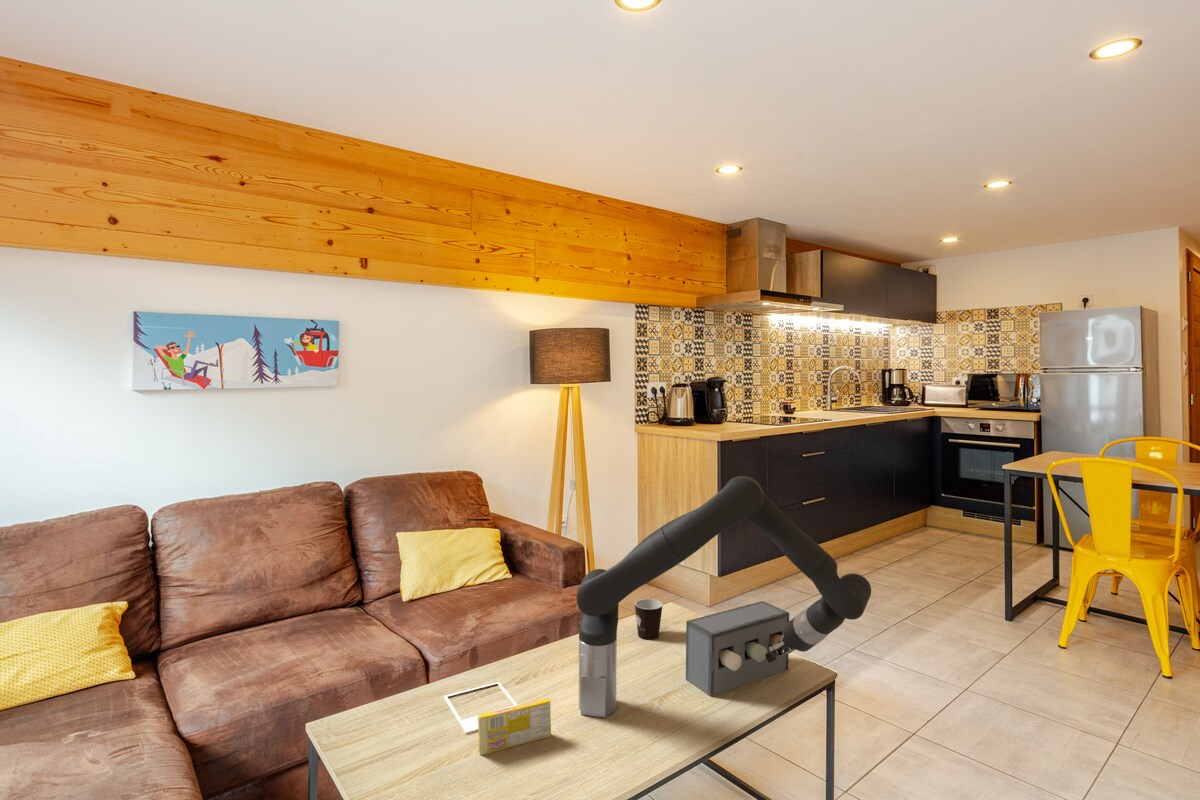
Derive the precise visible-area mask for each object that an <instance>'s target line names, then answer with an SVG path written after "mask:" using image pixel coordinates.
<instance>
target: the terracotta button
mask: <svg viewBox="0 0 1200 800" xmlns="http://www.w3.org/2000/svg"><path fill="white" fill-rule="evenodd" d="M779 637H780V635H778V634H776V635H772V634H770V638H769V643H773V644H774V643H775V642H776V641H777V640H778V639H779ZM774 645H775V644H774Z"/></svg>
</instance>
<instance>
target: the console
mask: <svg viewBox="0 0 1200 800" xmlns="http://www.w3.org/2000/svg"><path fill="white" fill-rule="evenodd" d="M789 621H790V612H788V611H786V610H784V609H781V608H779V607H778V606H775V605H772V604H770V603H768V602H766V601H761V600H760V601H757V602H754V603H751V604H746V605H742V606H738V607H735V608H734V607H733V608H731V609H727V610H723V611H721V612H720V611H719V612H716V613H711V614H708V615H704V616H700V617H696V618H693V619H689V620H686V621H685V623H686V624H685V625H686V626H685V628H686V630H685V631H686V632H685V634H686V635H685V637H686V638H685V680H686V681H687V682H688V683H690V684H691V685H693V686H694V687H695V688H697V689H699V690H700V691H701V692H703V693H705V694H706V695H708V696H709V697H714V696H718V695H720V694H723V693H726V692H728V691H731V690H734V689H736V688H740V687H743V686H745V685H749V684H751V683H754V682H757V681H759V680H763V679H765V678H769V677H771V676H774V675H778V674H780V673H782V672H786V671H788V670H789V656H790V655H789V654H790V653H789V654H785V655H784V656H780V657H779V658H778V659H776V660H775V661H773V662H770V663H769V662H768V660H767V658H765V660H764V661H763V662H758V661H756V660H754V659H752V658H751V657H749V656H748V655H747V653H746V651H745V642H749V643H751V642H756V643H757V644H759V645H761V646H763V647H765V648H766V649H767V645H768V644H769V638H770V634H772V635H776V634H778V635H780V636H782V635H783V634H784V628H785V625H786V624H787V623H788V622H789ZM721 649H722V650H724V651H725V650H730V651H732V652H734V653H736V654H737V655H739V656H740V657H741V659H742V662H741V666H740V667H739V669H738V670H736V671H733V670H731V669H729V668H727V667H726V666H724V665H722V664H721V661H720V659H719V650H721ZM768 652H769V651H768V649H767V653H768Z"/></svg>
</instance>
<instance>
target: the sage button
mask: <svg viewBox="0 0 1200 800" xmlns="http://www.w3.org/2000/svg"><path fill="white" fill-rule="evenodd" d="M745 651H746V653H747V655H748V656H749V657H751V658H752V659H754V660H756V661H758V662H763V661H764V660H765V658H766V656H765V654H766V653H767V649H766V648H765V647H763V646H761V645H759V644H757V643H756V642H751V643H749V642H745Z"/></svg>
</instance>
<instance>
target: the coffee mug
mask: <svg viewBox="0 0 1200 800" xmlns="http://www.w3.org/2000/svg"><path fill="white" fill-rule="evenodd" d="M663 605H664V604H663V603H662V602H661V601H660V600H657V599H652V598H642V599H638V600H636V601H635V602H634V611H635V619H636V628H637V629H636V630H637V636H638V638H639V639H641V640H647V641H652V640H653V641H654V640H656V639H659V635H660V631H661V630H660V628H661V620H662V614H663V613H662V612H663Z"/></svg>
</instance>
